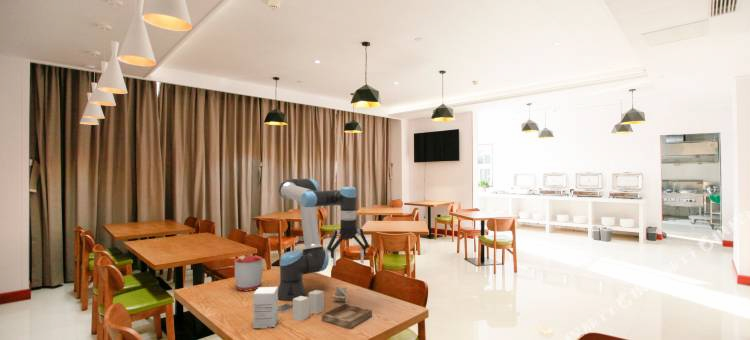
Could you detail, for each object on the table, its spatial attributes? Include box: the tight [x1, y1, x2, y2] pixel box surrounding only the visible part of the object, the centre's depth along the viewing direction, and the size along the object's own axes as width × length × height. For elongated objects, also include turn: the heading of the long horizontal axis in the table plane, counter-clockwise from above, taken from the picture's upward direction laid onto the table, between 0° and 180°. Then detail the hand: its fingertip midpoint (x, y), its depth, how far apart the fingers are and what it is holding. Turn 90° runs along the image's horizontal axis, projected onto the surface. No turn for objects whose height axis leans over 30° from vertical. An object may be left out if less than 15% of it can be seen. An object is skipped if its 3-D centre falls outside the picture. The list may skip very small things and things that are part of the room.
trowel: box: [278, 303, 293, 313], centre depth 166 cm, size 16×6×2 cm, turn 146°
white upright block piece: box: [308, 289, 325, 315], centre depth 167 cm, size 5×5×9 cm
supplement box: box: [252, 286, 279, 329], centre depth 152 cm, size 9×9×15 cm
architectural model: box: [331, 286, 348, 304], centre depth 179 cm, size 3×7×7 cm, turn 75°
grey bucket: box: [233, 253, 264, 291], centre depth 203 cm, size 16×17×20 cm
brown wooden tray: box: [321, 302, 373, 330], centre depth 158 cm, size 16×16×3 cm
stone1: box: [292, 296, 310, 322], centre depth 159 cm, size 5×5×9 cm
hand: (348, 263), depth 167 cm, fingers open, 13 cm apart
